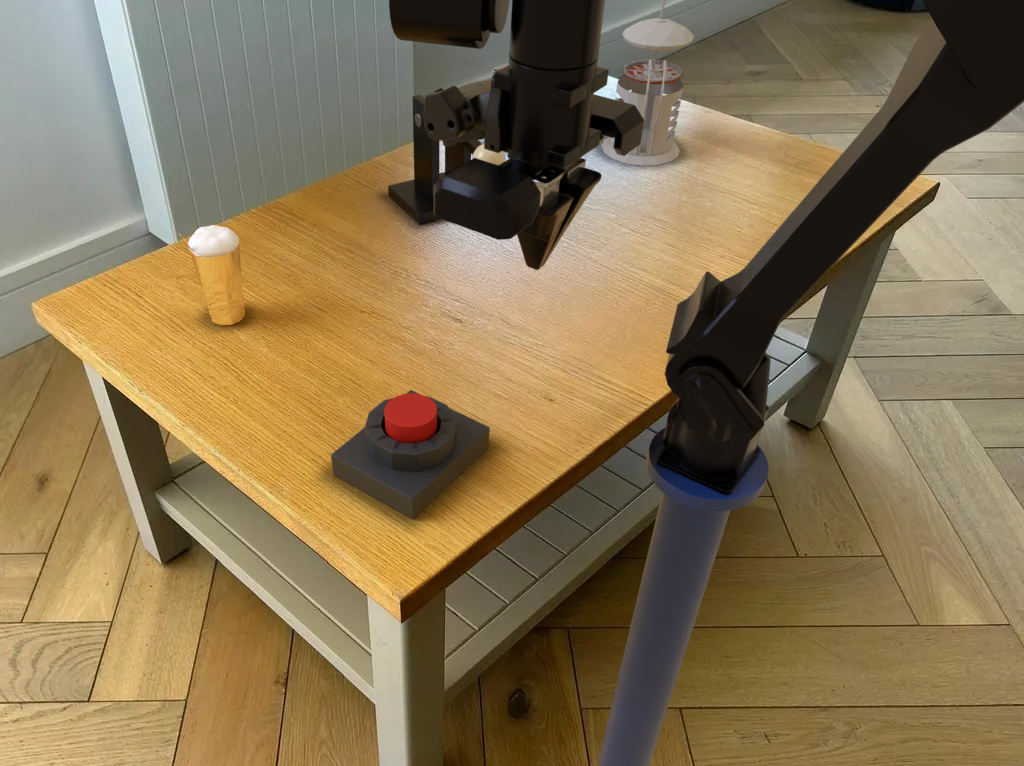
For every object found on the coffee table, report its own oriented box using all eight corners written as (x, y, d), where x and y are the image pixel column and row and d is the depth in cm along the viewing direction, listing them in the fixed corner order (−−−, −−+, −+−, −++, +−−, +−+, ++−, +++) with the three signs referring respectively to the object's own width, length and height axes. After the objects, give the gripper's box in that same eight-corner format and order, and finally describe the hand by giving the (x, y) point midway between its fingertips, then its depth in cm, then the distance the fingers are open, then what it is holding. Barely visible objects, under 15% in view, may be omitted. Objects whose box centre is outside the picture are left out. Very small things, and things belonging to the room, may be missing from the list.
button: (447, 423, 69) (447, 406, 68) (415, 451, 67) (415, 434, 66) (406, 403, 71) (406, 386, 70) (374, 430, 69) (373, 413, 68)
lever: (509, 179, 92) (513, 149, 90) (480, 187, 91) (483, 156, 89) (448, 120, 100) (450, 91, 97) (421, 126, 99) (423, 97, 96)
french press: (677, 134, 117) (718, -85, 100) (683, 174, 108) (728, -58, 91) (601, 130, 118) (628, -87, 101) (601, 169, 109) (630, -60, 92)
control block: (489, 447, 73) (490, 409, 70) (413, 520, 67) (411, 481, 64) (411, 409, 76) (410, 372, 74) (332, 475, 70) (328, 437, 68)
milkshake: (188, 318, 87) (166, 224, 80) (235, 298, 89) (219, 205, 82) (211, 338, 84) (191, 243, 77) (260, 317, 87) (245, 223, 80)
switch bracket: (497, 204, 103) (501, 102, 95) (419, 225, 100) (417, 120, 92) (462, 177, 108) (464, 77, 100) (388, 195, 105) (384, 94, 97)
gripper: (526, -4, 67) (513, 191, 77) (364, 70, 56) (375, 285, 67) (663, 25, 62) (629, 229, 72) (513, 113, 51) (499, 338, 62)
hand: (534, 266), depth 68 cm, fingers closed
